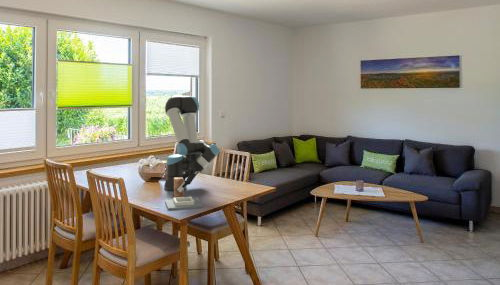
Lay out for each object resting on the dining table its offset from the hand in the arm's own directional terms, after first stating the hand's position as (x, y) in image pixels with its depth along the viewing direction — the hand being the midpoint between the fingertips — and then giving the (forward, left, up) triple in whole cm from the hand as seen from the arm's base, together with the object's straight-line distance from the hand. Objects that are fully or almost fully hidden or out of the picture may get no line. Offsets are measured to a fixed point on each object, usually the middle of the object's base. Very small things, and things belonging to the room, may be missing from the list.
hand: (177, 188), depth 256 cm
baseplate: (+12, -15, -5) cm, 20 cm away
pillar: (+1, +1, -5) cm, 6 cm away
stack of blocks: (-35, +50, -6) cm, 61 cm away
